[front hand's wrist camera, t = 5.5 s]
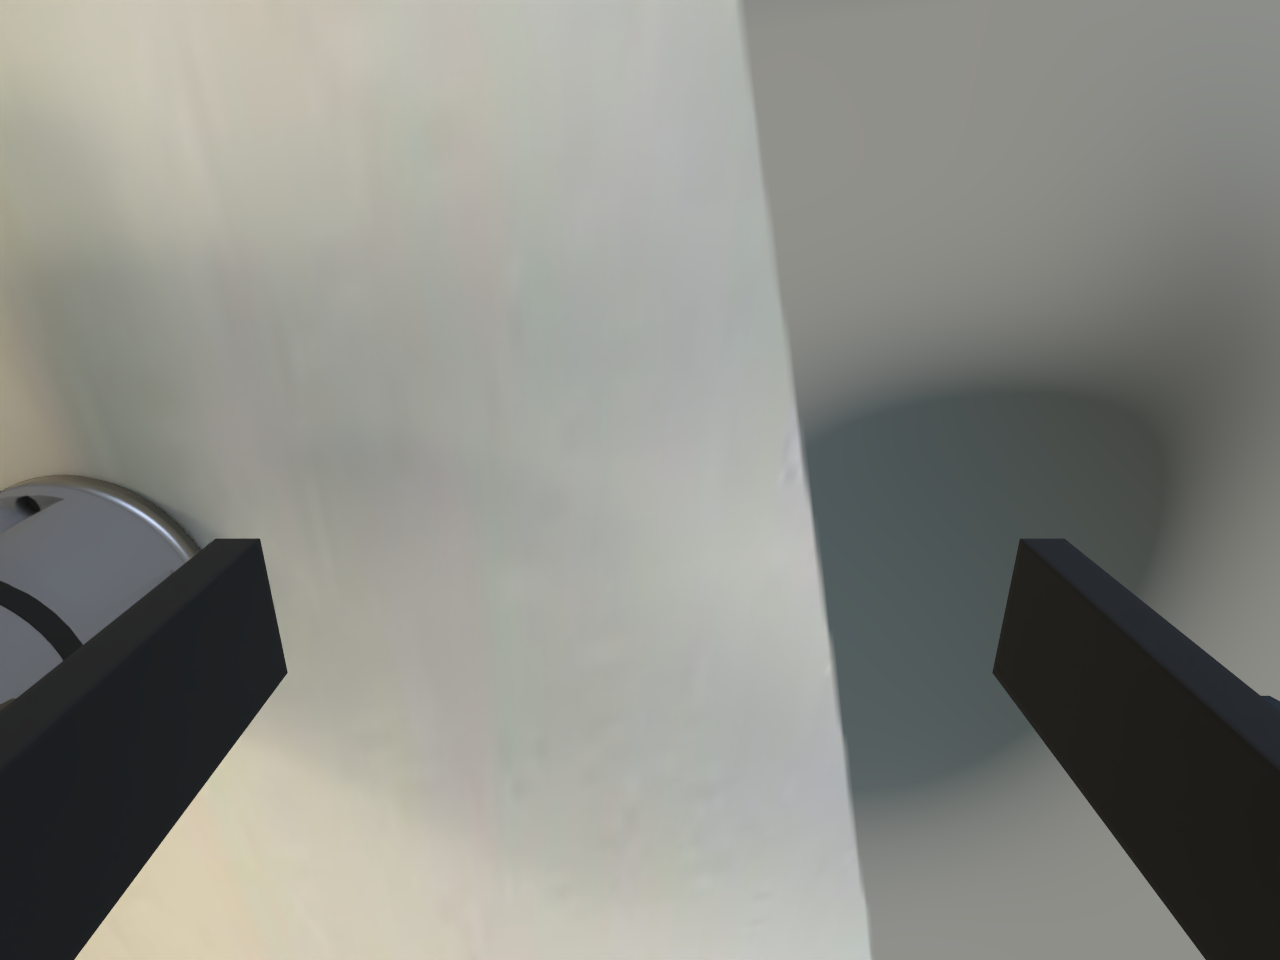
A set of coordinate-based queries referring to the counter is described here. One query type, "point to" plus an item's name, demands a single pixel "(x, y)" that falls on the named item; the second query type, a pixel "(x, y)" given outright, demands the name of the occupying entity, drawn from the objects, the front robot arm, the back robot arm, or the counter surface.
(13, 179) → the counter surface
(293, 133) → the counter surface
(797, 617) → the counter surface
